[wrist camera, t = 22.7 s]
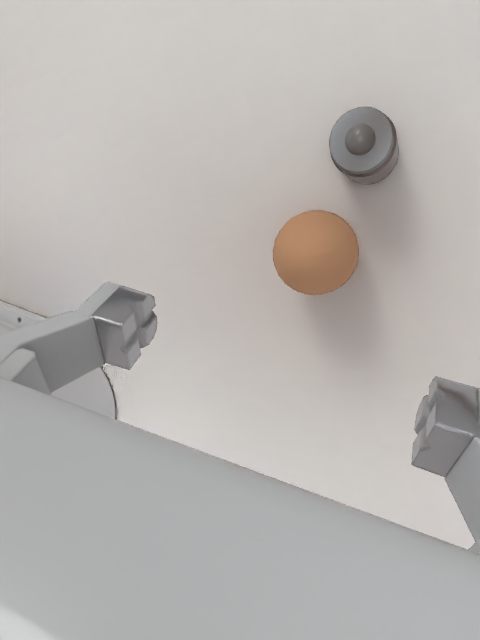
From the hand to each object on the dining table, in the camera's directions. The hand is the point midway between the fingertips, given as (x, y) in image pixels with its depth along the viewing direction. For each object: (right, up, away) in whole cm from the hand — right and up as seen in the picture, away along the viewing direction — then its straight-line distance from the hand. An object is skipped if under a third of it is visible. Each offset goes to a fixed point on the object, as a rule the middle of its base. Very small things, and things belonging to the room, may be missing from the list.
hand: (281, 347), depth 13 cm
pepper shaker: (+9, +14, +24) cm, 29 cm away
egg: (+6, +7, +27) cm, 28 cm away
